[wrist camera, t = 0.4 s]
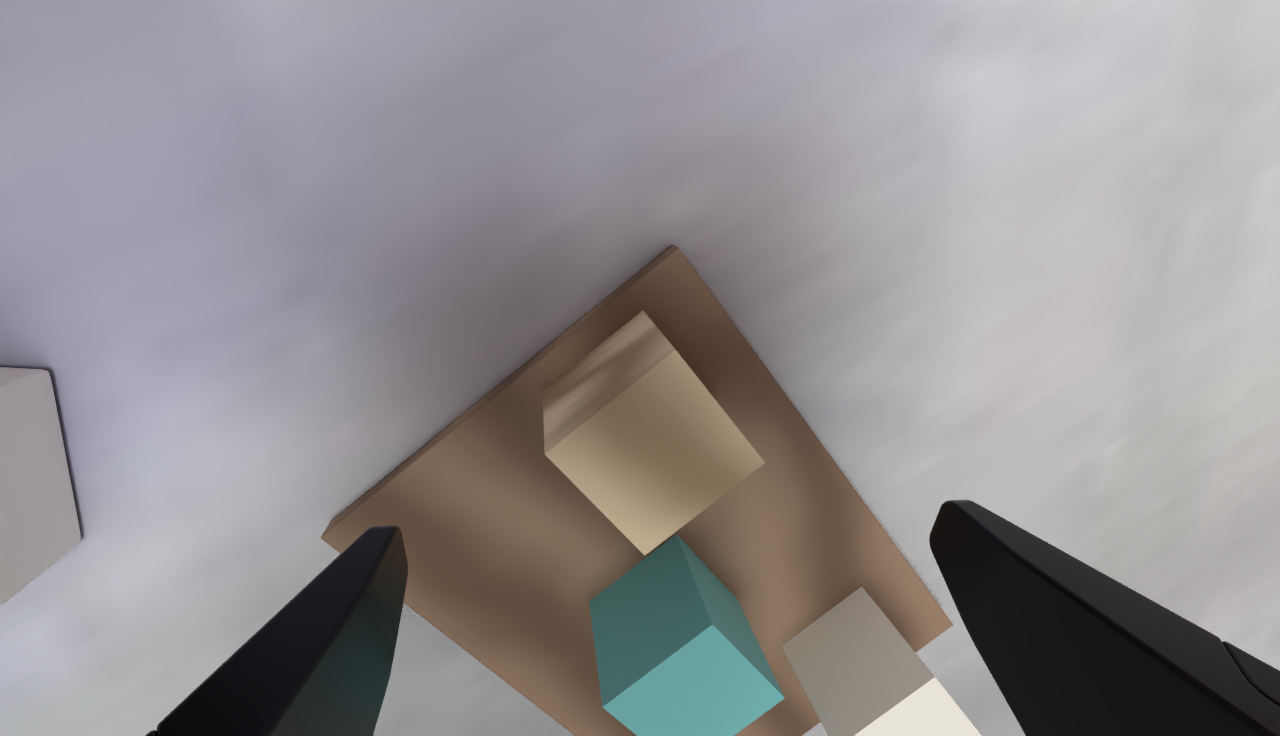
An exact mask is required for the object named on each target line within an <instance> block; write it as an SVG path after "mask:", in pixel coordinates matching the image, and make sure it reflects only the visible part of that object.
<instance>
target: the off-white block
mask: <svg viewBox="0 0 1280 736" xmlns="http://www.w3.org/2000/svg"><path fill="white" fill-rule="evenodd" d="M781 647H782V649H783V651H784V653H785V655H786V656H787V658H788V660H789V662H790V664H791V666H792V668H793V670H794V672H795V674H796V675H797V677H798V679H799V681H800V683H801V685H802V687H803V689H804V691H805V693H806V694H807V696H808V698H809V700H810V702H811V704H812V706H813V708H814V710H815V712H816V713H817V715H818V717H819V719H820V721H821V723H822V725H823V727H824V729H825V730H826V732H827V734H828V736H981V735H980V733H979V732H978V731H977V729H976V728H975V727H974V726H973V724H972V723H971V722H970V721H969V719H968V718H967V717H966V716H965V714H964V713H963V712H962V711H961V709H960V708H959V707H958V705H957V704H956V703H955V702H954V700H953V699H952V698H951V697H950V695H949V694H948V693H947V692H946V690H945V689H944V688H943V687H942V685H941V684H940V683H939V682H938V680H937V679H936V678H935V676H934V675H933V674H932V673H931V671H930V670H929V669H928V668H927V667H926V665H925V664H924V663H923V662H922V660H921V659H920V658H919V657H918V655H917V654H916V653H915V652H914V650H913V649H912V648H911V647H910V645H909V644H908V643H907V642H906V640H905V639H904V638H903V637H902V635H901V634H900V633H899V632H898V630H897V629H896V628H895V627H894V625H893V624H892V623H891V622H890V621H889V619H888V618H887V617H886V616H885V614H884V613H883V612H882V611H881V609H880V608H879V607H878V606H877V604H876V603H875V602H874V601H873V599H872V598H871V597H870V596H869V594H868V593H867V592H866V591H865V589H864V588H863V587H860V588H859V589H857V590H856V591H855V592H853V593H852V594H851V595H849V596H848V597H847V598H845V599H844V600H843V601H841V602H840V603H839V604H837V605H836V606H835V607H833V608H832V609H831V610H829V611H828V612H827V613H825V614H824V615H823V616H821V617H820V618H818V619H817V620H816V621H814V622H813V623H812V624H810V625H809V626H808V627H806V628H805V629H804V630H802V631H801V632H800V633H798V634H797V635H796V636H794V637H793V638H792V639H790V640H789V641H788V642H786V643H785V644H784V645H782V646H781Z"/></svg>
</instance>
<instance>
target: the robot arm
mask: <svg viewBox="0 0 1280 736" xmlns="http://www.w3.org/2000/svg"><path fill="white" fill-rule="evenodd" d="M929 540H930V547H931V550H932V553H933V555H934V557H935V559H936V562H937V564H938V566H939V568H940V571H941V573H942V575H943V577H944V580H945V582H946V584H947V586H948V589H949V591H950V593H951V596H952V598H953V600H954V602H955V605H956V607H957V609H958V611H959V614H960V616H961V618H962V620H963V622H964V624H965V626H966V629H967V631H968V633H969V635H970V637H971V638H972V640H973V642H974V644H975V646H976V648H977V650H978V651H979V653H980V655H981V657H982V658H983V660H984V662H985V664H986V666H987V667H988V669H989V671H990V673H991V674H992V676H993V678H994V680H995V682H996V683H997V685H998V687H999V689H1000V691H1001V692H1002V694H1003V696H1004V698H1005V699H1006V701H1007V703H1008V705H1009V707H1010V708H1011V710H1012V712H1013V714H1014V715H1015V717H1016V719H1017V721H1018V723H1019V724H1020V726H1021V728H1022V730H1023V732H1024V733H1025V735H1026V736H1280V671H1279V670H1277V669H1275V668H1273V667H1272V666H1270V665H1268V664H1266V663H1264V662H1262V661H1261V660H1259V659H1257V658H1255V657H1253V656H1251V655H1250V654H1248V653H1246V652H1244V651H1242V650H1241V649H1239V648H1237V647H1235V646H1233V645H1232V644H1230V643H1228V642H1225V641H1223V642H1222V641H1221V640H1220V638H1219V637H1217V636H1215V635H1213V634H1212V633H1210V632H1208V631H1206V630H1204V629H1203V628H1201V627H1199V626H1197V625H1195V624H1193V623H1192V622H1190V621H1188V620H1186V619H1184V618H1183V617H1181V616H1179V615H1177V614H1175V613H1174V612H1172V611H1170V610H1168V609H1166V608H1165V607H1163V606H1161V605H1159V604H1157V603H1155V602H1154V601H1152V600H1150V599H1148V598H1146V597H1145V596H1143V595H1141V594H1139V593H1137V592H1136V591H1134V590H1132V589H1130V588H1128V587H1127V586H1125V585H1123V584H1121V583H1119V582H1117V581H1116V580H1114V579H1112V578H1110V577H1108V576H1107V575H1105V574H1103V573H1101V572H1099V571H1098V570H1096V569H1094V568H1092V567H1090V566H1089V565H1087V564H1085V563H1083V562H1081V561H1079V560H1078V559H1076V558H1074V557H1072V556H1070V555H1069V554H1067V553H1065V552H1063V551H1061V550H1060V549H1058V548H1056V547H1054V546H1052V545H1051V544H1049V543H1047V542H1045V541H1043V540H1042V539H1040V538H1038V537H1036V536H1034V535H1032V534H1031V533H1029V532H1027V531H1025V530H1023V529H1022V528H1020V527H1018V526H1016V525H1014V524H1013V523H1011V522H1009V521H1007V520H1005V519H1004V518H1002V517H1000V516H998V515H996V514H995V513H993V512H991V511H989V510H987V509H985V508H984V507H982V506H980V505H978V504H976V503H975V502H973V501H970V500H950V501H946V502H945V503H944V504H942V506H941V508H940V510H939V513H938V515H937V518H936V521H935V523H934V526H933V528H932V531H931V533H930V539H929ZM407 578H408V561H407V556H406V552H405V547H404V542H403V537H402V532H401V530H400V528H399V527H398V526H396V525H386V526H373V527H370V528H368V529H367V530H366V531H365V532H364V533H363V534H362V535H360V536H359V537H358V538H357V539H356V540H355V541H354V542H353V543H352V544H351V545H350V546H349V547H348V548H347V549H345V550H344V551H343V552H342V553H341V554H340V555H339V556H338V557H337V558H336V559H335V560H334V561H333V562H331V563H330V564H329V565H328V566H327V567H326V568H325V569H324V570H323V571H322V572H321V573H320V574H319V575H318V576H316V577H315V578H314V579H313V580H312V581H311V582H310V583H309V584H308V585H307V586H306V587H305V588H304V589H303V590H301V591H300V592H299V593H298V594H297V595H296V596H295V597H294V598H293V599H292V600H291V601H290V602H289V603H288V604H286V605H285V606H284V607H283V608H282V609H281V610H280V611H279V612H278V613H277V614H276V615H275V616H274V617H273V618H271V619H270V620H269V621H268V622H267V623H266V624H265V625H264V626H263V627H262V628H261V629H260V630H259V631H258V632H256V633H255V634H254V635H253V636H252V637H251V638H250V639H249V640H248V641H247V642H246V643H245V644H244V645H243V646H241V647H240V648H239V649H238V650H237V651H236V652H235V653H234V654H233V655H232V656H231V657H230V658H229V659H228V660H226V661H225V662H224V663H223V664H222V665H221V666H220V667H219V668H218V669H217V670H216V671H215V672H214V673H213V674H211V675H210V676H209V677H208V678H207V679H206V680H205V681H204V682H203V683H202V684H201V685H200V686H199V687H198V688H196V689H195V690H194V691H193V692H192V693H191V694H190V695H189V696H188V697H187V698H186V699H185V700H184V701H183V702H181V703H180V704H179V705H178V706H177V707H176V708H175V709H174V710H173V711H172V712H171V713H170V714H169V715H168V716H166V717H165V718H164V719H163V720H162V721H161V722H160V723H159V724H158V726H157V731H156V730H152V731H150V732H149V733H148V734H147V735H146V736H373V733H374V730H375V726H376V723H377V719H378V716H379V713H380V709H381V706H382V703H383V699H384V696H385V692H386V689H387V685H388V681H389V677H390V672H391V667H392V662H393V657H394V651H395V646H396V640H397V635H398V629H399V623H400V618H401V612H402V607H403V601H404V595H405V590H406V584H407Z"/></svg>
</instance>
